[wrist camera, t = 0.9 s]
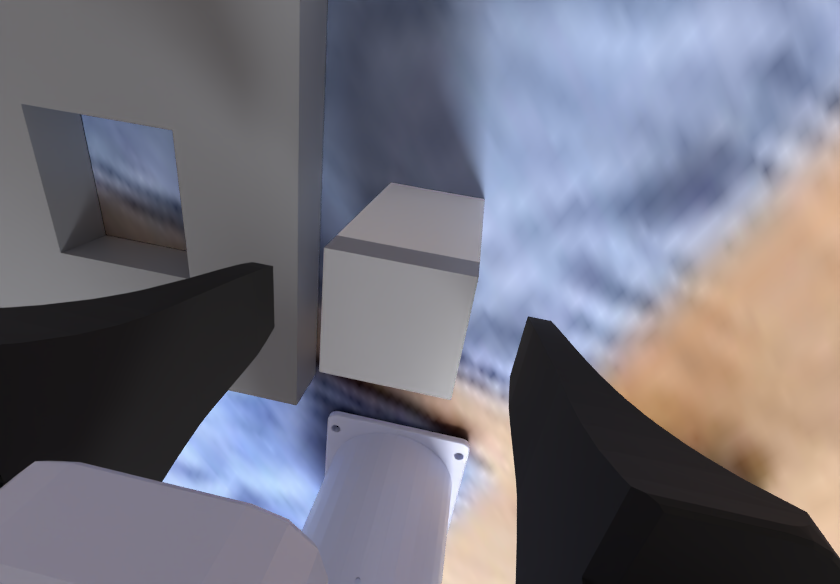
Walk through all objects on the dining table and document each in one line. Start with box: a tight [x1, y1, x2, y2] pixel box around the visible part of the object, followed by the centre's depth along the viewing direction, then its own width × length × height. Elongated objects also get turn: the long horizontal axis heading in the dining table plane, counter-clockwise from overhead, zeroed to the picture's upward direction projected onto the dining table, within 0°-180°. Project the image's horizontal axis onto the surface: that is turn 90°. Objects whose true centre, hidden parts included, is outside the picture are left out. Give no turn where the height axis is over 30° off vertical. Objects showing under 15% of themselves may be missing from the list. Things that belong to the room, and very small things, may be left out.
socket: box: [0, 0, 328, 405], centre depth 19 cm, size 18×16×2 cm
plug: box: [319, 183, 485, 400], centre depth 15 cm, size 4×4×8 cm
